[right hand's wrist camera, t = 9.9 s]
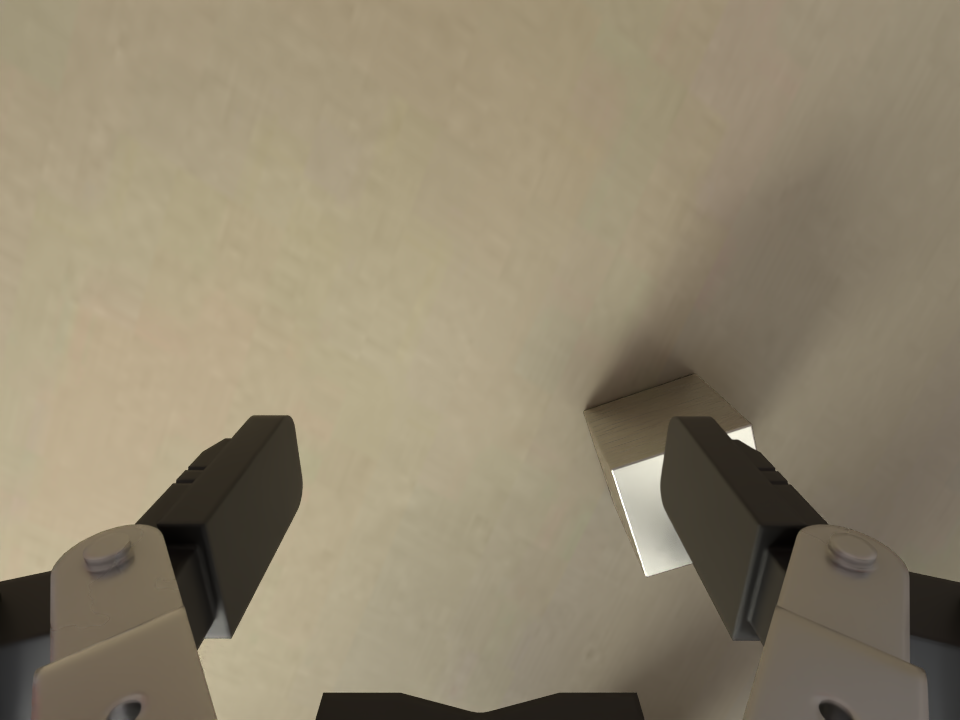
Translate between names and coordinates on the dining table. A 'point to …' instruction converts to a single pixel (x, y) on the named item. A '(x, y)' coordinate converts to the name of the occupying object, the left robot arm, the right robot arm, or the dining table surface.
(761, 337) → the dining table surface
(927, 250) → the dining table surface
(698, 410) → the metal cube
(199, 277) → the dining table surface
